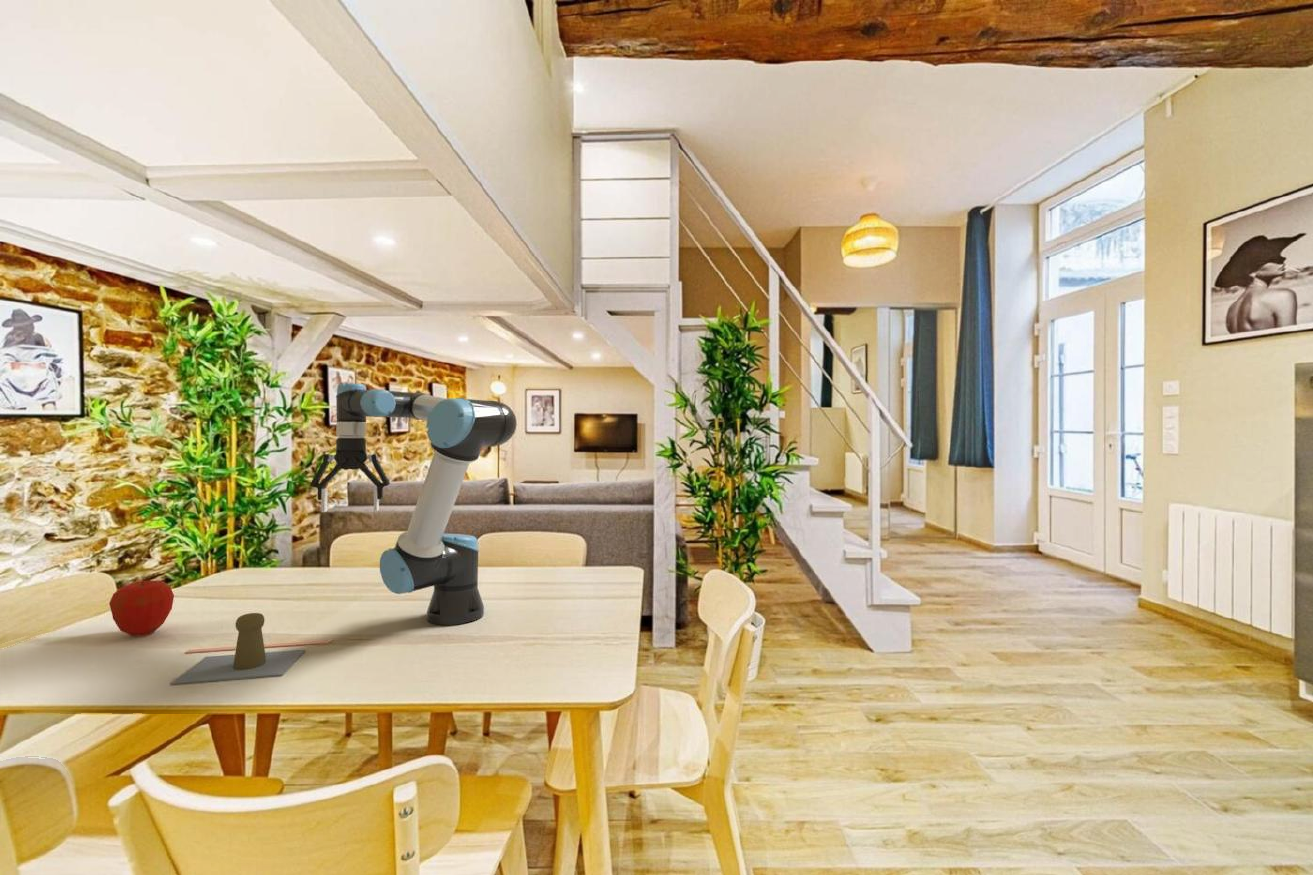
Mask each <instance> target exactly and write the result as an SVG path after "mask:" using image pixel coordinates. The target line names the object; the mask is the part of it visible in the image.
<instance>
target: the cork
mask: <svg viewBox="0 0 1313 875" xmlns="http://www.w3.org/2000/svg"><path fill="white" fill-rule="evenodd" d="M264 624H265V616H264V615H263V614H262V613H259V612H250V613H245V614H241V615H240V616H239V617H237V619H236V621H235V629H236V630H237V632H238V634H237V640H236V644H235V645H236V646H235V647H236V650H235V653H234V655H235V658H234V664H233V669H235V670H247V669H253V668H256V667H259V666H262V665H264V664H265V663H266V655H265V652H266V650H265V649H266V648H264V645H265V644H264V643H265V642H264V635H263V626H264Z"/></svg>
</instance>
